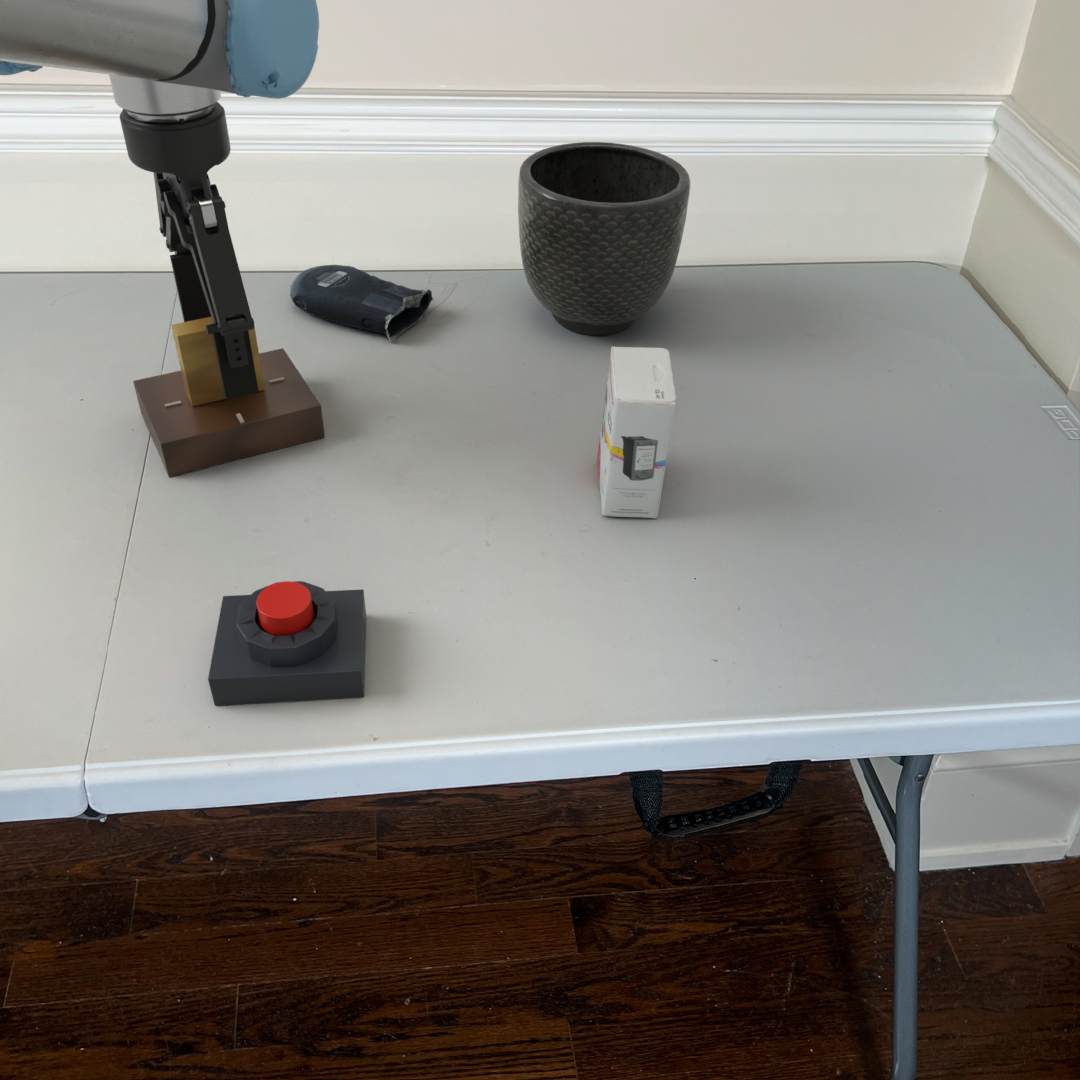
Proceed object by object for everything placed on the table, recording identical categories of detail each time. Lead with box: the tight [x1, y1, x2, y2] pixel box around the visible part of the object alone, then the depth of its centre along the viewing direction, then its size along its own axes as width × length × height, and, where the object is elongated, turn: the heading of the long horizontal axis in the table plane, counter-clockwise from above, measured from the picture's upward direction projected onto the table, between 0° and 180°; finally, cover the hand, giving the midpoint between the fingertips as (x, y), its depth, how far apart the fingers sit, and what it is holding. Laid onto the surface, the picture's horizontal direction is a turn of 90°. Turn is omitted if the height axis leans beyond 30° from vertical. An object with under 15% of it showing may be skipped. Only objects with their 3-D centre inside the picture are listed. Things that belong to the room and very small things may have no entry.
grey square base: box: [207, 580, 367, 707], centre depth 72 cm, size 10×8×4 cm
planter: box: [517, 141, 691, 336], centre depth 108 cm, size 17×17×16 cm
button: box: [256, 580, 314, 636], centre depth 70 cm, size 4×4×2 cm
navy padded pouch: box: [289, 264, 434, 343], centre depth 111 cm, size 9×6×15 cm
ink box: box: [596, 345, 677, 519], centre depth 86 cm, size 9×5×12 cm, turn 0°
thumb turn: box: [170, 317, 265, 406], centre depth 90 cm, size 6×2×7 cm, turn 118°
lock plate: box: [132, 348, 326, 478], centre depth 94 cm, size 14×11×4 cm
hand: (219, 355), depth 90 cm, fingers open, 13 cm apart
